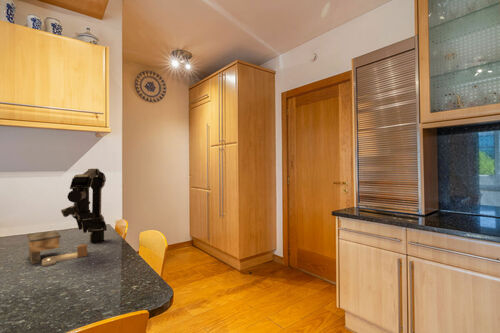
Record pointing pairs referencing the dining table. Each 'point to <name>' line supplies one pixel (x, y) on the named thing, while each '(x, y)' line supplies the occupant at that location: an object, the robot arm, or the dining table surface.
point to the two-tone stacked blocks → (80, 253)
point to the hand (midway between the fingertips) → (82, 231)
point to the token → (48, 261)
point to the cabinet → (42, 244)
